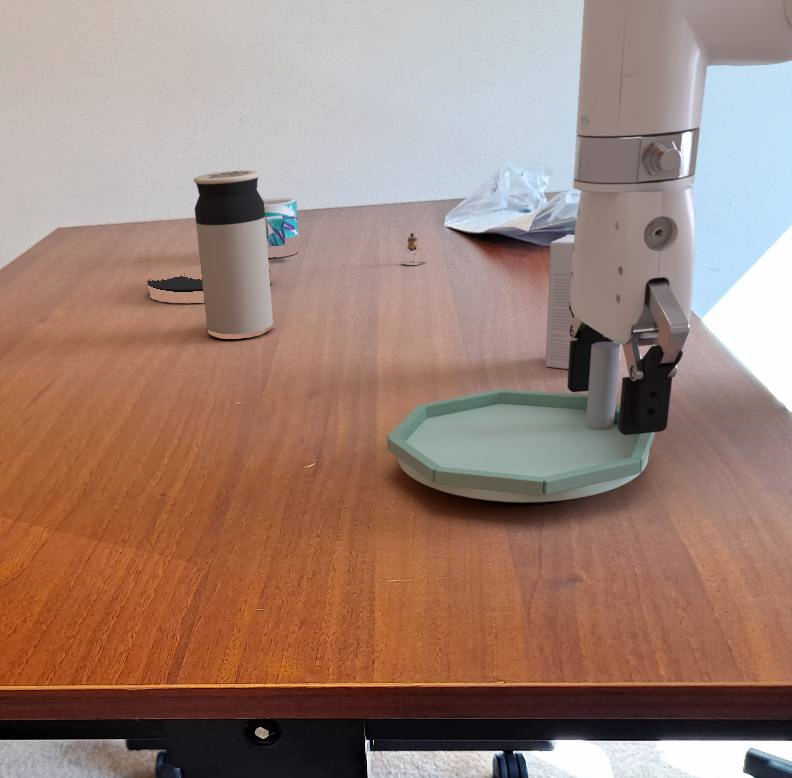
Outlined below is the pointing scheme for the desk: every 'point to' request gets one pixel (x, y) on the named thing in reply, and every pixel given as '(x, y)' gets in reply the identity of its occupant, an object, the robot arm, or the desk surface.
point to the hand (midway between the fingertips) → (613, 409)
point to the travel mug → (233, 252)
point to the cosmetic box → (559, 303)
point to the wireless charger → (178, 284)
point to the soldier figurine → (412, 242)
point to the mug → (280, 220)
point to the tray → (524, 441)
